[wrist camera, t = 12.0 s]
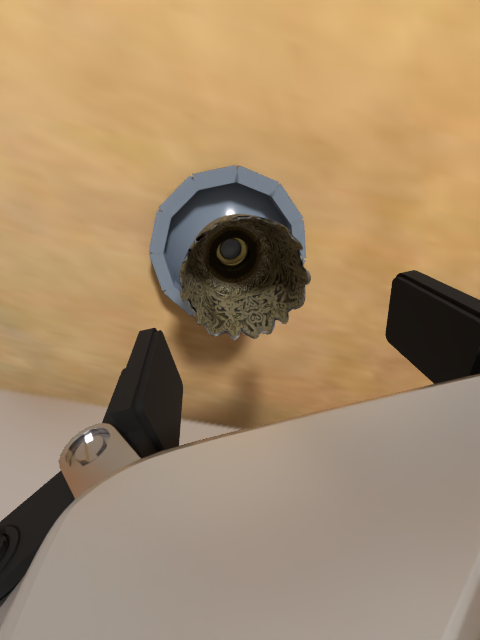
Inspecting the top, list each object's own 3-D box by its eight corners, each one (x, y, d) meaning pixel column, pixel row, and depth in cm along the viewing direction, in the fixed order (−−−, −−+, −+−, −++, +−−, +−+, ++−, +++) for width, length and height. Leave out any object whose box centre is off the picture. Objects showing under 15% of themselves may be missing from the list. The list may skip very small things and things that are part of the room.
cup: (167, 220, 20) (153, 249, 13) (259, 183, 20) (294, 192, 13) (206, 302, 24) (211, 357, 17) (283, 272, 23) (320, 316, 17)
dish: (290, 153, 20) (300, 151, 18) (300, 296, 26) (308, 305, 24) (131, 186, 19) (125, 188, 17) (179, 324, 25) (178, 336, 23)
